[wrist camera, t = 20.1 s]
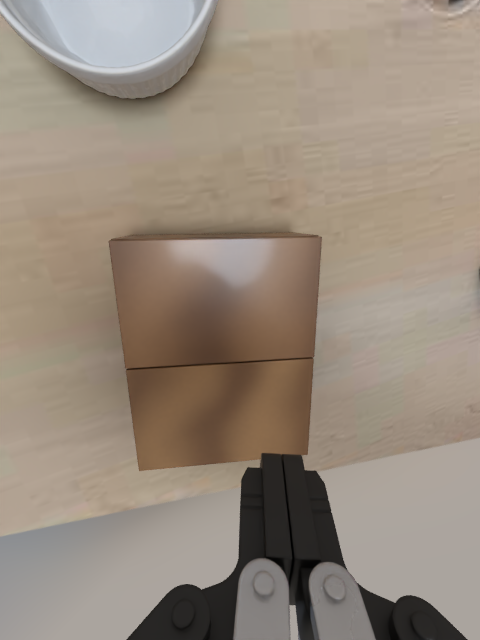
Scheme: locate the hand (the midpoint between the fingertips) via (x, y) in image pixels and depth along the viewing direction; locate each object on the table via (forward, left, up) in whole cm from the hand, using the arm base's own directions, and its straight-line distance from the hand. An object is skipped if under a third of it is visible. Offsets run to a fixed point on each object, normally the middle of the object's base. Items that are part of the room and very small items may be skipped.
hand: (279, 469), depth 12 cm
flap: (-5, +2, -12) cm, 13 cm away
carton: (-1, +2, -19) cm, 19 cm away
